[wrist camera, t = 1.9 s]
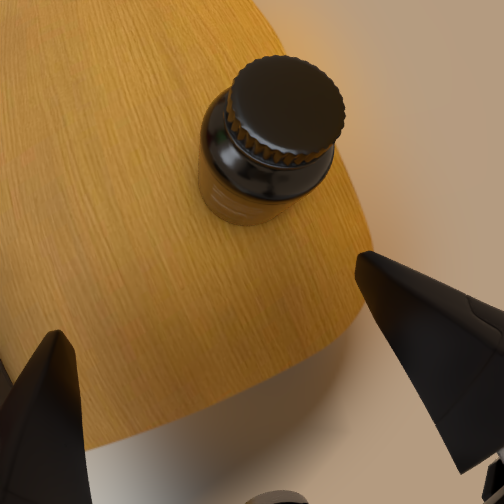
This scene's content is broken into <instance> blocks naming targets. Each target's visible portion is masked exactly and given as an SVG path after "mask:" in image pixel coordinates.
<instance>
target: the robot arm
mask: <svg viewBox="0 0 504 504" xmlns="http://www.w3.org/2000/svg"><path fill="white" fill-rule="evenodd" d="M355 280H356V283H357V285H358V287H359V289H360V291H361V293H362V295H363V297H364V299H365V301H366V303H367V305H368V307H369V309H370V311H371V313H372V315H373V317H374V319H375V321H376V323H377V325H378V326H379V328H380V330H381V331H382V333H383V334H384V336H385V338H386V339H387V341H388V343H389V344H390V346H391V348H392V349H393V351H394V353H395V354H396V356H397V358H398V359H399V361H400V363H401V365H402V366H403V368H404V370H405V372H406V373H407V375H408V377H409V378H410V380H411V382H412V384H413V385H414V387H415V389H416V391H417V392H418V394H419V396H420V398H421V400H422V402H423V403H424V405H425V407H426V409H427V411H428V413H429V414H430V416H431V418H432V420H433V422H434V423H435V424H436V425H435V426H436V428H437V430H438V431H439V433H440V435H441V437H442V439H443V441H444V443H445V445H446V447H447V449H448V451H449V453H450V455H451V457H452V459H453V461H454V463H455V465H456V467H457V469H458V471H459V472H460V474H461V475H462V474H463V473H465V472H467V471H468V470H470V469H472V468H473V467H475V466H476V465H478V464H479V463H481V462H482V461H484V460H486V459H487V458H489V457H490V456H491V455H493V454H494V453H496V452H497V454H498V456H499V457H498V458H497V459H496V460H495V461H494V462H493V463H492V464H490V465H489V466H488V471H487V476H486V481H485V485H484V489H483V493H482V499H483V501H484V503H483V504H504V311H502V310H500V309H497V308H495V307H493V306H490V305H488V304H486V303H484V302H481V301H479V300H477V299H475V298H473V297H471V296H469V295H466V294H465V293H463V292H461V291H459V290H456V289H454V288H452V287H450V286H448V285H446V284H444V283H442V282H439V281H437V280H435V279H433V278H431V277H429V276H427V275H424V274H422V273H420V272H418V271H415V270H413V269H411V268H409V267H407V266H405V265H402V264H400V263H398V262H396V261H393V260H391V259H389V258H387V257H384V256H382V255H380V254H377V253H375V252H373V251H366V252H362V253H360V254H358V256H357V261H356V268H355ZM86 467H87V466H86V458H85V449H84V439H83V427H82V411H81V397H80V389H79V381H78V373H77V365H76V355H75V350H74V348H73V346H72V345H71V343H70V342H69V340H68V339H67V338H66V336H65V335H64V333H63V332H62V331H61V330H54V331H50V332H48V333H47V334H46V336H45V337H44V338H43V340H42V341H41V343H40V344H39V346H38V347H37V349H36V350H35V352H34V354H33V355H32V357H31V358H30V360H29V361H28V363H27V364H26V366H25V368H24V369H23V371H22V372H21V374H20V376H19V377H18V379H17V380H16V382H15V384H14V385H13V387H12V389H11V390H10V392H9V394H8V396H7V397H6V399H5V401H4V402H3V404H2V406H1V408H0V504H92V499H91V493H90V487H89V481H88V474H87V468H86ZM300 504H308V503H300Z"/></svg>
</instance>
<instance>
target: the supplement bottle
mask: <svg viewBox="0 0 504 504" xmlns="http://www.w3.org/2000/svg"><path fill="white" fill-rule="evenodd" d="M344 110H345V106H344V103H343V97H342V96H341V94H340V93H339V89H338V88H337V87H336V86H335V85H334V82H333V81H332V80H331V79H330V78H329V77H328V76H327V75H326V74H325V73H324V72H323V71H321V70H319V69H318V67H316V66H314V65H311V64H310V63H309V62H307V61H303V60H300V59H299V58H297V57H289V56H286V55H284V56H278V55H274V56H271V57H269V56H265V57H263V58H262V59H255V60H254V61H253V62H252V63H249V64H247V65H246V66H245V68H244V69H242V70H240V71H239V73H238V76H237V77H235V78H234V80H233V83H232V86H231V87H229V88H227V89H226V90H224V91H223V92H222V93H220V94H219V95H218V96H217V97H216V98H215V99H214V100H213V102H212V103H211V104H210V106H209V107H208V109H207V111H206V113H205V115H204V118H203V121H202V125H201V131H200V145H199V167H198V184H199V189H200V193H201V195H202V198H203V200H204V202H205V203H206V205H207V206H208V207H209V209H210V210H211V211H212V212H213V213H214V214H216V215H217V216H218V217H220V218H221V219H223V220H225V221H227V222H229V223H232V224H236V225H242V226H251V225H258V224H261V223H264V222H267V221H269V220H271V219H272V218H274V217H276V216H277V215H279V214H280V213H282V212H283V211H284V210H286V209H287V208H289V207H290V206H292V205H293V204H295V203H296V202H298V201H299V200H300V199H302V198H303V197H305V196H306V195H308V194H309V193H310V192H312V191H313V190H314V189H315V188H316V187H317V186H318V185H319V184H320V183H321V182H322V181H323V179H324V178H325V177H326V175H327V173H328V171H329V169H330V167H331V164H332V161H333V157H334V143H335V141H336V139H337V138H338V137H339V136H340V135H341V129H343V127H344V119H345V117H346V115H345V112H344Z"/></svg>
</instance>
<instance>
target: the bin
mask: <svg viewBox="0 0 504 504" xmlns="http://www.w3.org/2000/svg"><path fill="white" fill-rule="evenodd" d="M12 387H13V384H12V382H11V380H10V378H9V376H8V374H7V372H6V370H5V368H4V366H3V364H2V362H1V360H0V408H1V406H2V404H3V402H4V401H5V399H6V397H7V396H8V394H9V392H10V390H11V389H12Z"/></svg>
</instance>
